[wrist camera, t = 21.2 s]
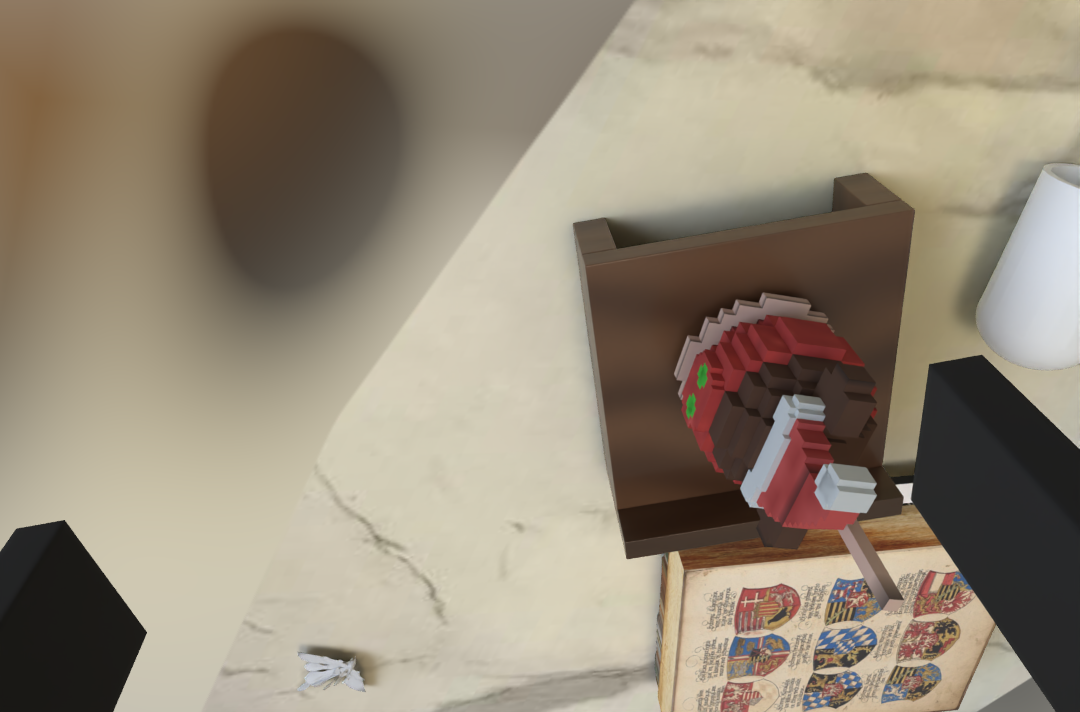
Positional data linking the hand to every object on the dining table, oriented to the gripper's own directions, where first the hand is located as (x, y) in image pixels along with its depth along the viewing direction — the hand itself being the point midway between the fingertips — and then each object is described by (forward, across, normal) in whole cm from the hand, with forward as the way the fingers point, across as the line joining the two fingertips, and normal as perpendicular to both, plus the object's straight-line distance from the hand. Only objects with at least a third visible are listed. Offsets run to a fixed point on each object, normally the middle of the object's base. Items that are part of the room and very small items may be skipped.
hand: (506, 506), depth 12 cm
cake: (+28, +12, -19) cm, 36 cm away
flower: (+34, -25, -48) cm, 64 cm away
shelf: (+34, +12, -21) cm, 42 cm away
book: (+34, +19, -47) cm, 61 cm away
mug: (+34, +34, -19) cm, 52 cm away
